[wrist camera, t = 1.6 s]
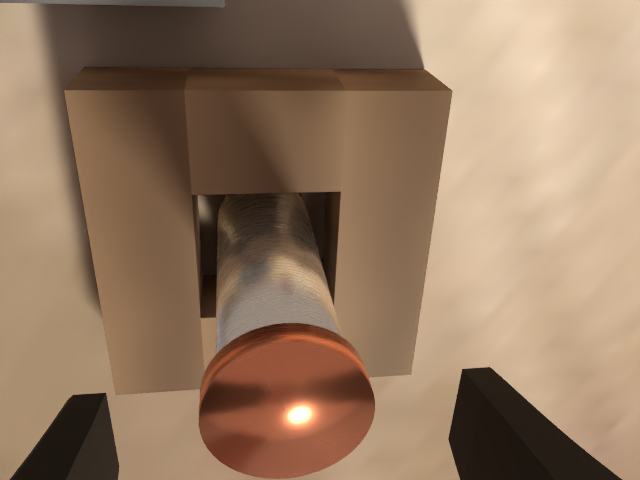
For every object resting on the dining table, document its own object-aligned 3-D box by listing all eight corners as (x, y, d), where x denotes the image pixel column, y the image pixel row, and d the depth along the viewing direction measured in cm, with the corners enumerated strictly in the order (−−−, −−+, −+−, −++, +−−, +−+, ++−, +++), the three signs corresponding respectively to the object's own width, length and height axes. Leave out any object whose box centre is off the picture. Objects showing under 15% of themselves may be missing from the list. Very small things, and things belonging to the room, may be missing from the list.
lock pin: (211, 267, 20) (203, 485, 13) (205, 170, 19) (193, 353, 11) (314, 263, 21) (367, 470, 13) (318, 168, 19) (382, 343, 11)
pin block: (126, 346, 22) (115, 395, 19) (84, 67, 17) (64, 90, 15) (393, 330, 23) (410, 374, 21) (425, 69, 18) (452, 90, 16)
